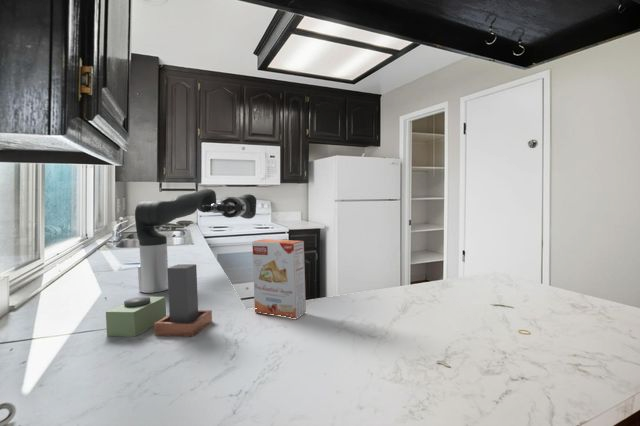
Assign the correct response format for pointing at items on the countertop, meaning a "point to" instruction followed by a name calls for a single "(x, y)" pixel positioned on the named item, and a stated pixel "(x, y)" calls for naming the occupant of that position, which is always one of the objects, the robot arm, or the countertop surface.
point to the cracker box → (279, 277)
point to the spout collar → (183, 325)
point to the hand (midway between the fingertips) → (215, 208)
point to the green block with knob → (135, 316)
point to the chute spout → (183, 293)
